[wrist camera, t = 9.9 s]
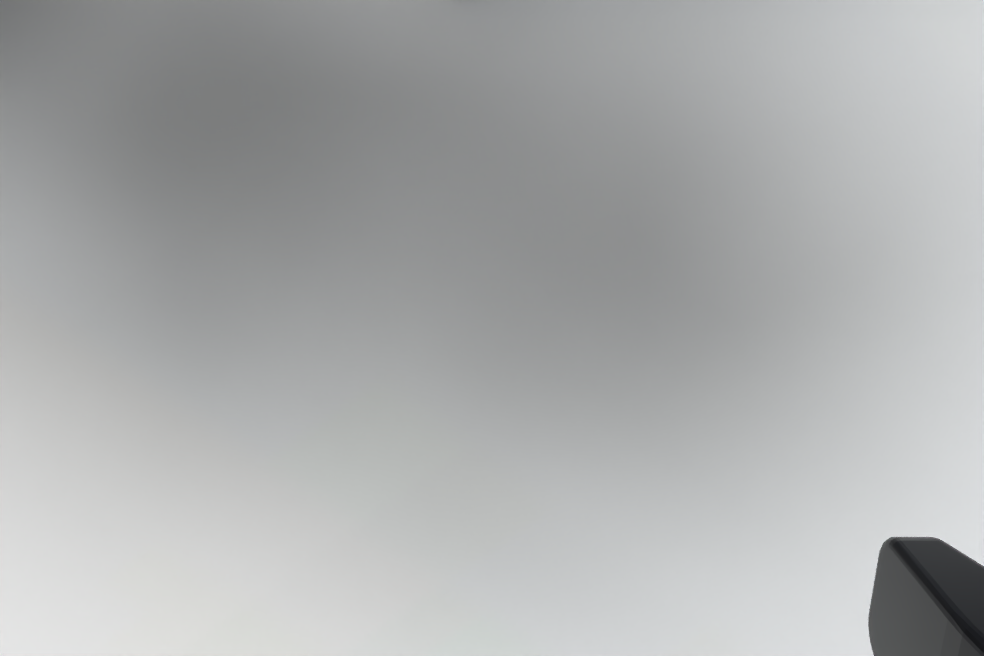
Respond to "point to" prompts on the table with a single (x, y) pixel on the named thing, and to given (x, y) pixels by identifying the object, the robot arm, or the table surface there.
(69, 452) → the table surface
